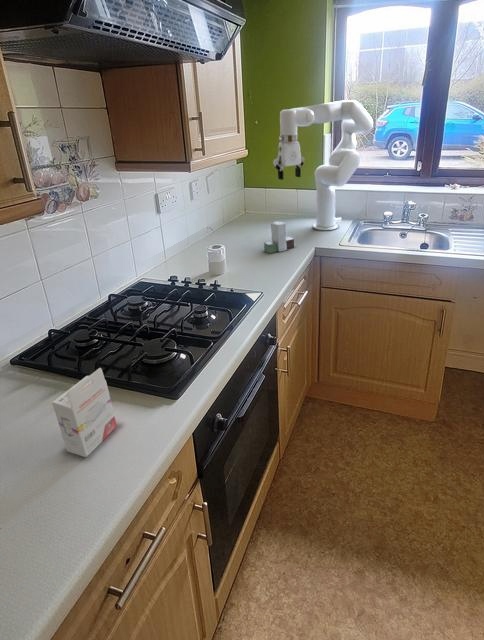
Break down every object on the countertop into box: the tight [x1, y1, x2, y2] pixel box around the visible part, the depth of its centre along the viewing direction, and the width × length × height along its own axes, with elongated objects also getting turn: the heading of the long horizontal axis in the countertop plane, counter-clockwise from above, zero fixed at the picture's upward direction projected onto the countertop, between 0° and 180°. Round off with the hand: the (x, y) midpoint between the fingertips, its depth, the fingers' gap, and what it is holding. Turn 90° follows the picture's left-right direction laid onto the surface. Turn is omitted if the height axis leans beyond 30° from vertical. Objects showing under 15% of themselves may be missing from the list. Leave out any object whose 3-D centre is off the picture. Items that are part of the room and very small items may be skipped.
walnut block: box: [286, 236, 295, 250], centre depth 183 cm, size 4×4×4 cm
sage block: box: [263, 240, 278, 255], centre depth 178 cm, size 4×4×4 cm
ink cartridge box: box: [51, 367, 118, 458], centre depth 77 cm, size 9×5×15 cm, turn 158°
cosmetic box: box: [270, 220, 288, 252], centre depth 179 cm, size 6×4×12 cm
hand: (289, 178), depth 188 cm, fingers open, 9 cm apart
